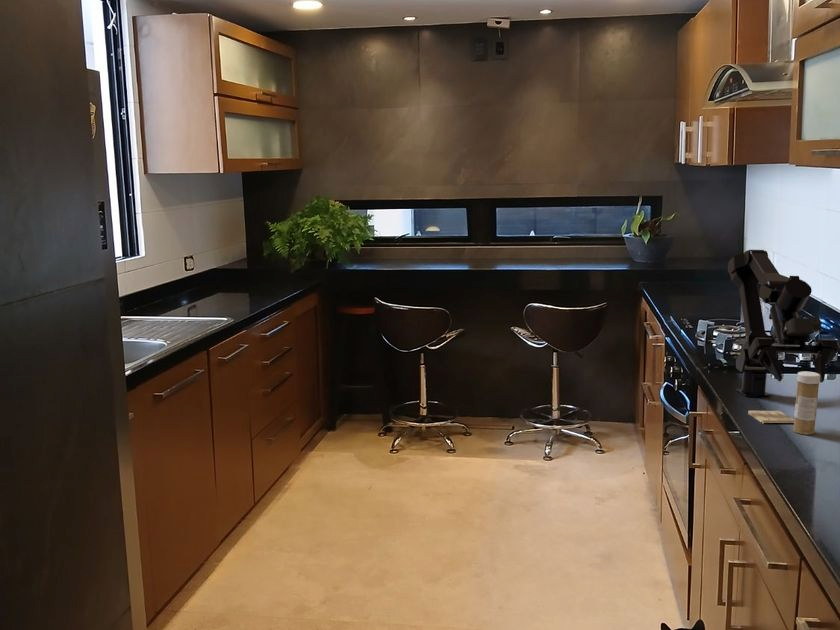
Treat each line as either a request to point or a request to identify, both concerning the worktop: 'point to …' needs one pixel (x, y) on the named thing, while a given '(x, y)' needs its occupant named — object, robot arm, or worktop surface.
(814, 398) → the sprinkles bottle
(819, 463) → the worktop surface
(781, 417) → the trivet
